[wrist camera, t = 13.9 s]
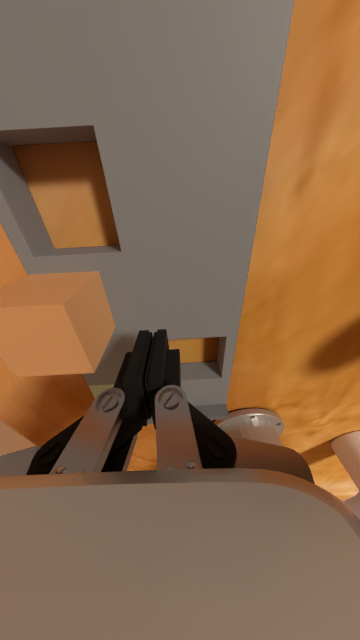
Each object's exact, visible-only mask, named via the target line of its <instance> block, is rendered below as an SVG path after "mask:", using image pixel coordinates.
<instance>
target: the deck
mask: <svg viewBox="0 0 360 640" xmlns="http://www.w3.org/2000/svg"><path fill="white" fill-rule="evenodd" d="M293 5H294V0H0V223H1V225H2V227H3V229H4V231H5V233H6V234H7V236H8V238H9V240H10V242H11V244H12V246H13V247H14V249H15V251H16V253H17V255H18V257H19V259H20V260H21V262H22V264H23V266H24V268H25V270H26V272H27V273H28V275H32V274H52V273H72V272H93V271H99V273H100V277H101V280H102V284H103V287H104V290H105V294H106V297H107V300H108V304H109V307H110V310H111V314H112V317H113V320H114V324H115V330H114V332H113V334H112V336H111V338H110V340H109V343H108V345H107V347H106V349H105V351H104V353H103V355H102V358H101V360H100V362H99V364H98V366H97V368H96V371H95V373H84V374H82V376H83V377H84V379H85V381H86V383H87V385H88V387H89V389H90V390H91V392H92V394H93V396H94V398H96V397H97V395H99V394H100V393H101V392H102V391H104V390H106V389H109V388H113V387H114V384H115V381H116V379H117V376H118V373H119V371H120V368H121V365H122V363H123V360H124V357H125V354H126V353H127V352H132V351H133V348H134V345H135V342H136V339H137V336H138V333H139V331H140V330H149V332H152V334H153V335H154V332H157V330H158V329H166V330H167V337H168V340H174V339H191V338H208V337H219V345H218V355H217V361H216V362H198V363H181V364H180V368H181V388H182V389H183V390H184V391H185V394H186V397H187V401H188V402H189V403H190V404H192V405H193V406H194V407H195V408H197V409H198V410H199V411H200V412H201V413H203V414H204V415H205V416H206V417H207V418H209V419H210V420H220V419H228V418H229V414H228V410H227V406H226V400H227V394H228V389H229V383H230V377H231V371H232V365H233V359H234V353H235V347H236V341H237V336H238V330H239V324H240V318H241V312H242V306H243V300H244V294H245V288H246V282H247V277H248V271H249V265H250V259H251V253H252V247H253V241H254V235H255V229H256V224H257V218H258V212H259V206H260V200H261V194H262V188H263V182H264V176H265V170H266V165H267V159H268V153H269V147H270V141H271V135H272V129H273V123H274V117H275V112H276V106H277V100H278V94H279V88H280V82H281V76H282V70H283V64H284V58H285V53H286V47H287V41H288V35H289V29H290V23H291V17H292V11H293ZM83 141H97V144H98V148H99V153H100V157H101V162H102V166H103V171H104V175H105V180H106V184H107V189H108V193H109V198H110V203H111V207H112V212H113V216H114V221H115V225H116V230H117V234H118V239H119V243H120V245H114V246H97V247H79V248H62V249H54V247H53V245H52V242H51V240H50V238H49V235H48V233H47V230H46V228H45V226H44V223H43V221H42V219H41V216H40V214H39V211H38V209H37V207H36V204H35V202H34V200H33V197H32V195H31V192H30V190H29V188H28V185H27V183H26V180H25V178H24V176H23V173H22V171H21V169H20V166H19V164H18V161H17V159H16V157H15V154H14V152H13V149H12V147H11V146H14V145H31V144H49V143H66V142H83ZM151 423H153V420H152V416H151V419H148V420H147V424H151Z"/></svg>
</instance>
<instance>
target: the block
mask: <svg viewBox="0 0 360 640" xmlns="http://www.w3.org/2000/svg"><path fill="white" fill-rule="evenodd" d="M114 330H115V324H114V320H113V317H112V314H111V310H110V307H109V304H108V300H107V297H106V294H105V290H104V287H103V284H102V280H101V277H100V273H99V271H93V272H72V273H52V274H32V275H28V276H26V277H24V278H22V279H20V280H18V281H16V282H14V283H12V284H10V285H8V286H6V287H4V288H2V289H0V358H1V359H2V361H3V362H4V363H5V364H6V365H7V367H8V368H9V369H10V370H11V371H12V372H13V374H14V375H15V376H16V377H26V376H45V375H64V374H84V373H95V371H96V368H97V366H98V364H99V362H100V360H101V358H102V355H103V353H104V351H105V349H106V347H107V345H108V343H109V340H110V338H111V336H112V334H113V332H114Z"/></svg>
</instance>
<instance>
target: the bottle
mask: <svg viewBox="0 0 360 640" xmlns="http://www.w3.org/2000/svg"><path fill="white" fill-rule="evenodd" d="M331 447H332V449H333V451H334V452H335V454H336V455H337V457H338V458H339V460H340V461H341V463H342V464H343V466H344V468H345V469H346V471H347V472H348V474H349V475H350V477H351V478H352V480H353V481H354V483H355V485H356V486H357V488H358V489H359V491H360V431H354V432H350V433H346V434H344V435H341V436H339V437H337V438H335V439H334V440H333V441H332V442H331Z"/></svg>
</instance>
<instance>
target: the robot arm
mask: <svg viewBox="0 0 360 640" xmlns="http://www.w3.org/2000/svg"><path fill="white" fill-rule="evenodd" d="M228 414H229V418H228V419H220V420H215V421H214V422H212V421H211V420H210V419H209V418H207V417H206V416H205V415H204V414H203V413H201V412H200V411H199V410H198V409H197V408H195V407H194V406H193V405H192V404H190V403H189V402H188V401H187V397H186V394H185V391H184V390H183V389H182V388H181V368H180V352H179V349H174V350H169V345H168V337H167V330H166V329H158V330H157V332H154V335H153V334H152V332H149V330H140V331H139V333H138V336H137V339H136V342H135V345H134V348H133V351H132V352H127V353H126V354H125V357H124V360H123V363H122V365H121V368H120V371H119V373H118V376H117V379H116V381H115V384H114V387H113V388H109V389H106V390H104V391H102V392H101V393H100V394H99V395H97V397H96V398H95V399H94V401H93V402H92V404H91V406H90V407H89V409H88V411H87V412H86V414H85V415H84V416H83V417H81V418H80V419H79V420H77V421H76V422H74V423H73V424H72V425H70V426H69V427H67V428H66V429H65V430H63V431H62V432H60V433H59V434H58V435H56V436H55V437H53V438H52V439H50V440H49V441H48V442H46V443H45V444H44V445H43V446H42V447H40V448H39V447H38V446H35V447H31V448H28V449H24V450H20V451H17V452H13V453H10V454H6V455H2V456H0V640H360V519H359V518H358V517H357V516H356V515H355V514H354V513H353V512H352V510H351V509H350V508H349V507H348V506H346V504H344V503H343V502H342V501H341V500H340V499H338V498H337V497H335V496H334V495H333V494H331V493H330V492H328V491H326V490H324V489H323V488H321V487H319V486H317V485H315V483H314V480H313V477H312V474H311V470H310V468H309V466H308V464H307V462H306V461H305V460H304V458H303V457H302V456H301V455H300V454H299V453H297V452H296V451H295V450H293V449H290V448H287V447H283V445H282V443H281V440H280V438H279V436H280V435H281V433H282V432H283V429H284V424H283V422H282V419H281V418H280V416H279V415H278V414H276V413H275V412H272V411H270V410H266V409H259V408H250V409H242V410H237V411H233V412H230V413H228ZM151 416H152V420H153V424H154V428H155V429H156V443H157V467H158V470H149V471H127V468H128V465H129V462H130V459H131V456H132V452H133V449H134V446H135V443H136V440H137V435H138V434H137V433H138V432H139V431H140V430H141V429H142V426H147V420H148V419H151Z"/></svg>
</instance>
